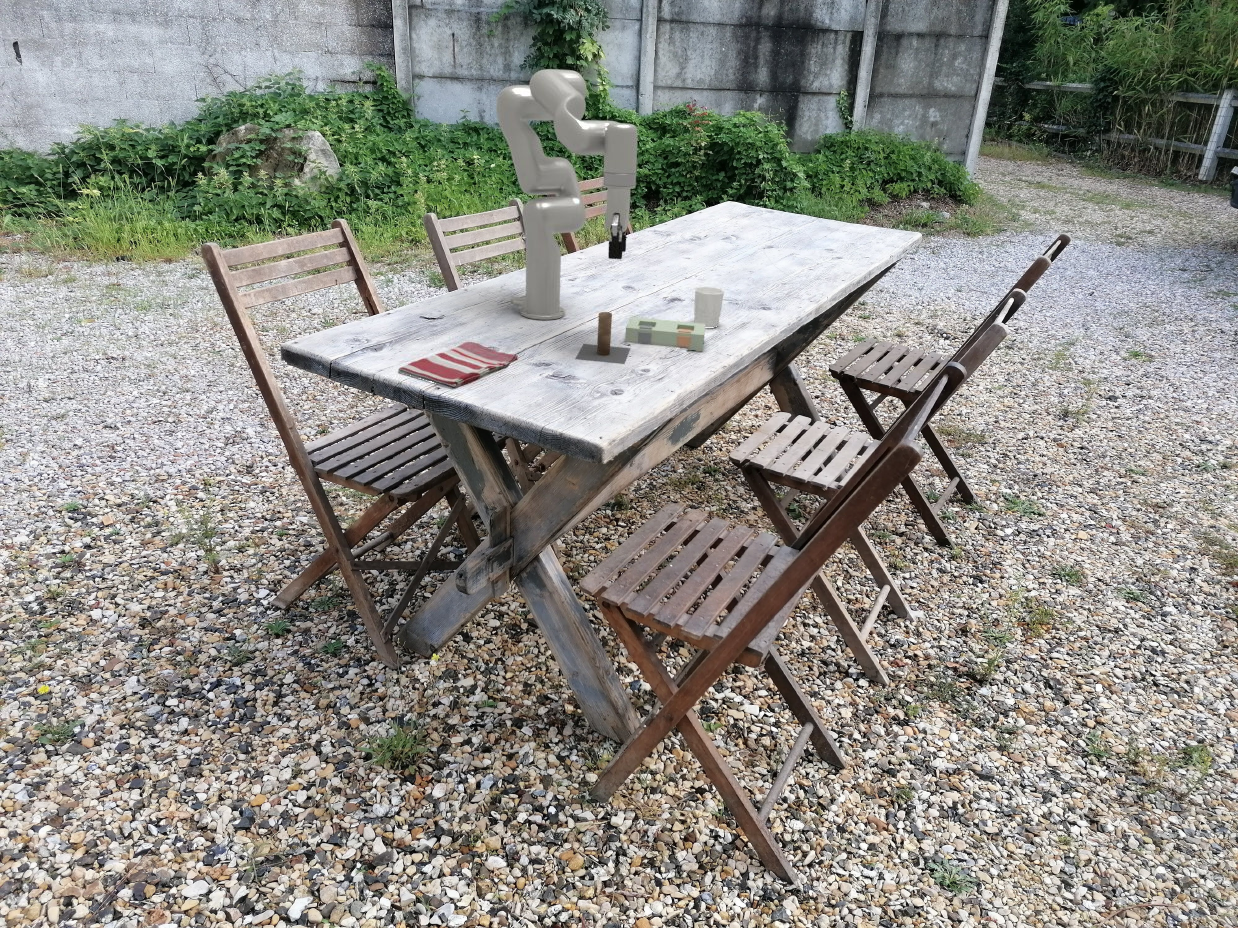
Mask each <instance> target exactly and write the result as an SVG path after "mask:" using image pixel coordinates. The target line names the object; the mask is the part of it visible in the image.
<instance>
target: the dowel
mask: <svg viewBox="0 0 1238 928" xmlns="http://www.w3.org/2000/svg"><path fill="white" fill-rule="evenodd" d="M612 321H613V314H612V312H608V311H600V312H598V320H597V323H598V324H597V343H596V345H597V354H598V355H602V356H607V355H610V346H611V343H612V342H611V339H612V338H611V337H612V325H613V324H612V323H613V322H612Z"/></svg>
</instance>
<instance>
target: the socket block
mask: <svg viewBox="0 0 1238 928" xmlns="http://www.w3.org/2000/svg"><path fill="white" fill-rule="evenodd" d="M705 326H706V324H702V323H694V322H687V321H680V320H679V321H678V320H669V319H668V320H666V319H658V318H657V319H656V318H649V317H648V318H647V317H635V316H630V318H629V319H628V322H627V323H626V327H625V335H624V336H625V339H624V342H625V343H634V344H643V345H644V344H645V345H653V346H654V345H655V346H666V347H674V348H676V347H677V348H685V349H686V350H687V349H688V350H696V351H695V352H697V351H702V352H703V351H704V350H703V349H704V344H703V343H704V342H705V333H706V328H705Z"/></svg>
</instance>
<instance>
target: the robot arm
mask: <svg viewBox="0 0 1238 928" xmlns="http://www.w3.org/2000/svg"><path fill="white" fill-rule="evenodd" d="M587 91H588V90H587V84H586V81H585V79H584V78H583V76H582V75H581V74H580V73H579V72H578V71H575V70H570V69H557V68H556V69H553V68H547V69H546V68H545V69H541V70H539V71H537V72H535V73H534V74H533V75H532V76H531V78H530V80H529V85H528V84H515V85H510V86H506V87H505V88H503V89H502V90H501V91H500V92H499V94H498V96H497V99H496V106H495V107H496V108H495V109H496V117H497V121H498V125H499V128H500V130H501V133H502V134H503V137H504V138H505V140H506V143H507V146H508V148H509V151H510V154H511V159H512V162H513V166H514V169H515V173H516V178H517V181H518V184H519V187H520V190H522V192H523V193H524V194H527V195H529V196H542V197H535V198H531V199H530V200H528V201H527V202H525V204H524V205H523V207H522V213H521V214H522V222H523V229H524V235H525V296H523V295H522V297H520V296H519V297H518V296H514V295H513V296H511V297H510V303H511V304H512V305H513V306H521V307H520V308H519V314H520V315H521V316H522V317H525V318H527V319H533V320H542V321H546V320H548V321H549V320H556V319H560V318H563V317H564V316H566V309H564V308H563V307H562V306H560V304H561V302H560V301H561V300H560V299H561V298H560V297H561V265H562V263H561V262H562V253H561V252H562V251H561V247H560V245H559V243H558V242H557V240H556V238H555V236H554V235H557V234H566V233H567V234H568V233H575V232H579V231H580V230H581V229H583V228H584V226H585V224H586V217H587V215H586V207H585V203H584V199H583V197H582V192H581V188H580V185H579V181H578V177H577V173H576V171H575V168H574V166H573V164H572V163H571V162H570V161H569V160H568V159H567V158H565V157H558V156H556V157H555V156H553V157H550V156H546V155H545V152H544V150H543V146H542V142H541V140H540V137H539V136H538V134H537V132H535V130H534V129H533V127H531V126H530V125H529V124H528V122H527V121H546V122H547V121H553V129H554V133H555V137H556V139H557V140H558V141H559V143H561V145H563V146H564V147H565V148H566V149H567V150H568V151H569V152H571V153H573V154H575V155H577V156H597V155H598V156H603V188H607V191H606V199H605V200H606V201H605V202H606V203H605V219H604V220H605V221H604V223H605V224H604V231H605V232H609V231H610V233H609V241H608V259H610V260H621V259H622V258H623V253H625V252H626V251H627V234H626V233H627V229H628V226H629V219H630V218H629V217H630V205H631V189H636V185H637V184H636V183H637V159H638V157H637V155H638V134H639V133H638V128H637V126H636V125H634V124H632V123H623V122H622V123H621V122H618V121H614V120H593V119H592V120H589V119H587V120H586V119H585V120H582V118H583V117H584V115H585V112H586V107H587V105H586V104H587V103H586V96H587ZM544 195H547V196H544ZM548 195H555V196H548Z"/></svg>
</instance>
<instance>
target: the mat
mask: <svg viewBox="0 0 1238 928" xmlns="http://www.w3.org/2000/svg"><path fill="white" fill-rule="evenodd" d="M630 351H631V347H623V346H622V347H621V346H612V345H610V355H607V356H602V355H598V354H597V344H589V343H583V344H582V346H581V347H580V349H579V351H578V353H577V355H576V356H575V358H574V360H580V361H591V362H599V363H600V362H602V363H611V364H620V365H625V363H626V361H627V359H628V356H629V354H630Z"/></svg>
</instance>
